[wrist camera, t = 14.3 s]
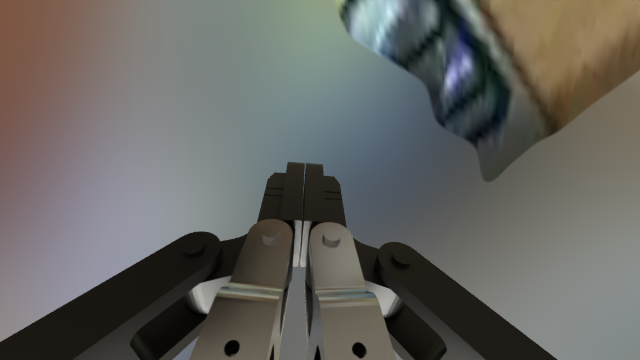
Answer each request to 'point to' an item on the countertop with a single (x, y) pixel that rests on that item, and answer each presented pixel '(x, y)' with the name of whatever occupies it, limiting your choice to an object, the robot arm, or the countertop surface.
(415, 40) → the countertop surface
